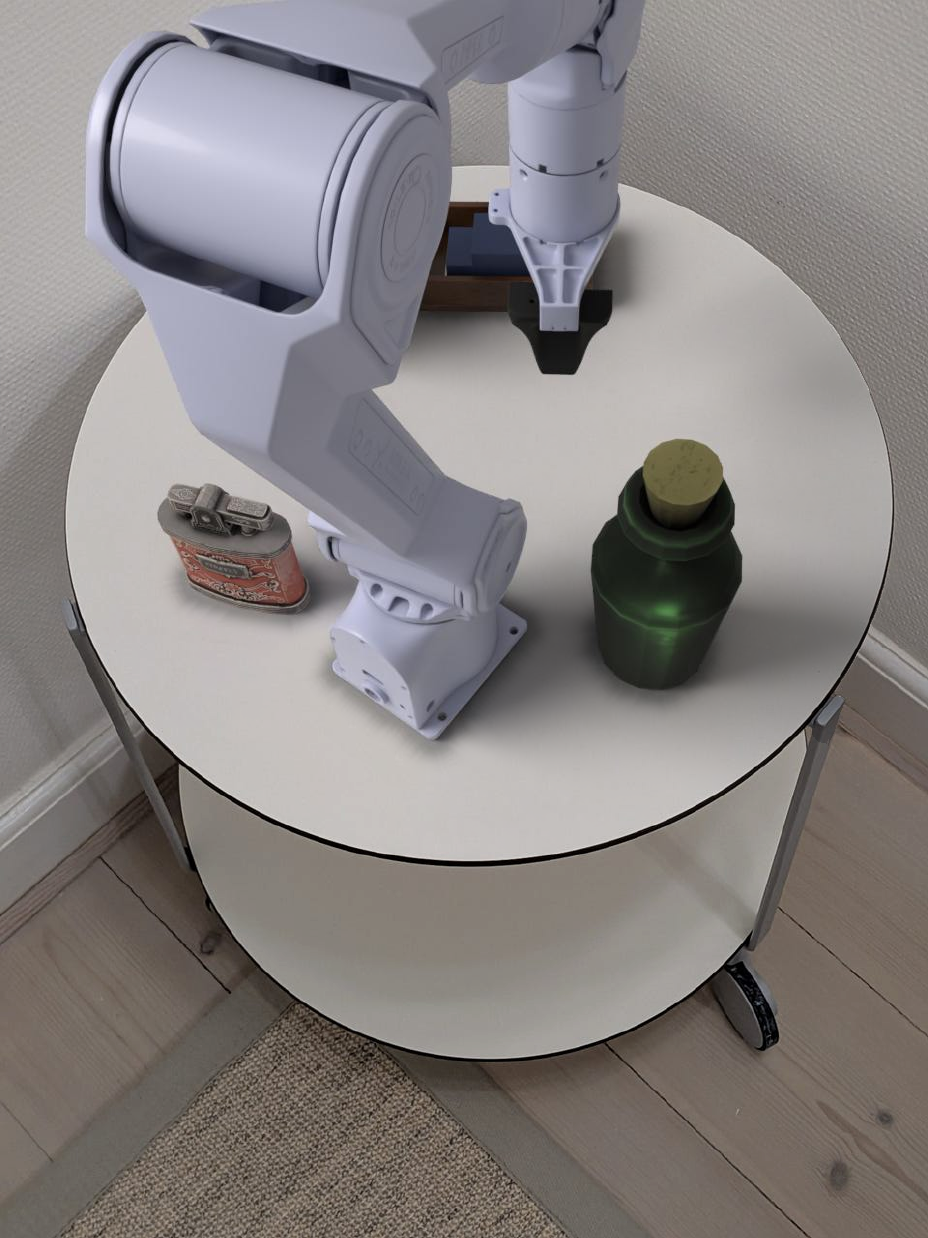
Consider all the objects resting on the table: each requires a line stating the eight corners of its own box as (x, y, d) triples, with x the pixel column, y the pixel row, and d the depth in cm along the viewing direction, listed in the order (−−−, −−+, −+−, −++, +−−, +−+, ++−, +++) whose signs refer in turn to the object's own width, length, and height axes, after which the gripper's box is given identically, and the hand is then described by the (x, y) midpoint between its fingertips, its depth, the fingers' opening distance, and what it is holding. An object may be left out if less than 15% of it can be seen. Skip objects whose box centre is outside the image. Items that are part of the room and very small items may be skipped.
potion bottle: (666, 730, 72) (703, 576, 56) (556, 651, 75) (562, 482, 59) (747, 633, 75) (804, 459, 59) (638, 560, 77) (664, 375, 61)
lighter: (180, 593, 78) (134, 506, 69) (201, 548, 79) (159, 458, 71) (299, 623, 76) (269, 538, 68) (318, 577, 78) (290, 488, 69)
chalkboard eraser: (566, 256, 89) (568, 212, 85) (565, 299, 87) (566, 255, 83) (448, 255, 89) (444, 211, 86) (444, 297, 88) (440, 254, 84)
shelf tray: (592, 233, 90) (594, 202, 88) (590, 312, 87) (592, 282, 84) (422, 231, 91) (418, 200, 89) (413, 309, 88) (410, 279, 85)
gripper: (493, 40, 66) (500, 229, 78) (477, 241, 60) (487, 415, 72) (626, 40, 66) (612, 230, 78) (625, 243, 59) (610, 417, 71)
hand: (560, 319), depth 75 cm, fingers open, 7 cm apart
